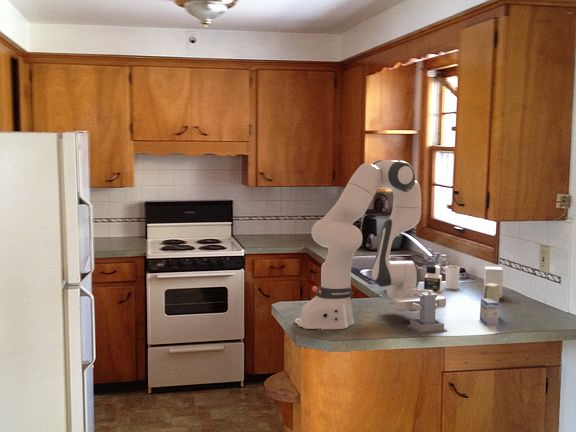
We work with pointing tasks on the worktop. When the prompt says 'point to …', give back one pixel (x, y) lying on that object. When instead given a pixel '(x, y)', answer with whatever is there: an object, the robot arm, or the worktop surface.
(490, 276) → the supplement box
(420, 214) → the robot arm
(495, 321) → the medicine box
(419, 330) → the pocket plate
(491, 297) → the box
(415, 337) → the worktop surface
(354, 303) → the worktop surface
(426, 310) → the block
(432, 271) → the medicine bottle
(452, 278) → the drinking glass
